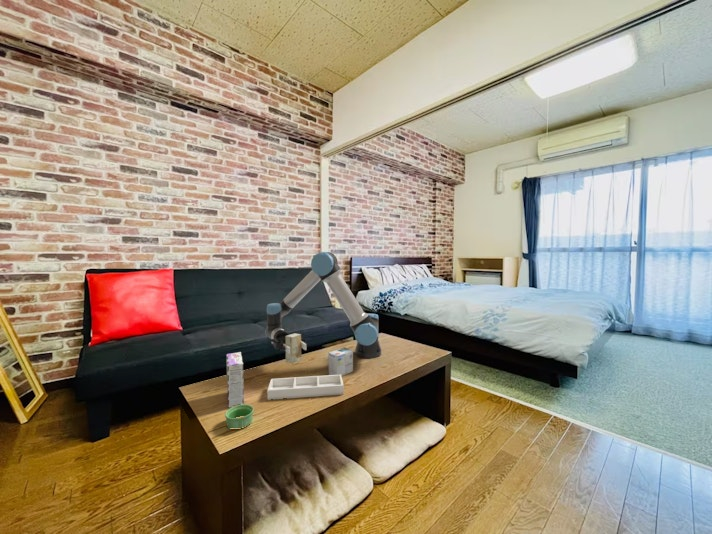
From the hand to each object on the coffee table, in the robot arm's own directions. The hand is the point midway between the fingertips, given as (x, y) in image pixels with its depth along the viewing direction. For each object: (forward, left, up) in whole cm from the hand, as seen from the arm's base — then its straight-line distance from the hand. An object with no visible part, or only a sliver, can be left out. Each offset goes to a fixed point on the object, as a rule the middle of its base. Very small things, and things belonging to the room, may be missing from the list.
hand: (297, 348), depth 130 cm
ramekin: (+18, +30, -15) cm, 38 cm away
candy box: (+24, +12, -15) cm, 31 cm away
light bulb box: (-20, -6, -15) cm, 26 cm away
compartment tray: (-4, +10, -15) cm, 18 cm away
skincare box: (+2, -4, -7) cm, 9 cm away
